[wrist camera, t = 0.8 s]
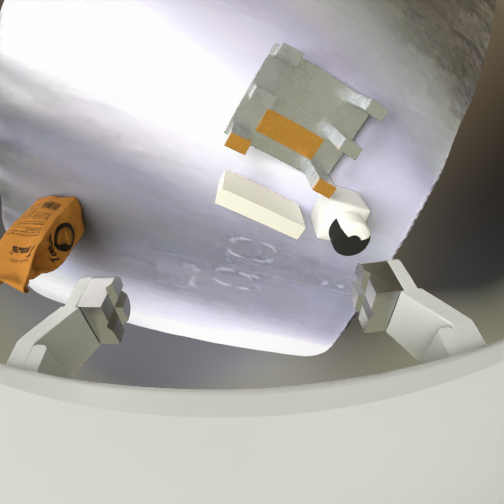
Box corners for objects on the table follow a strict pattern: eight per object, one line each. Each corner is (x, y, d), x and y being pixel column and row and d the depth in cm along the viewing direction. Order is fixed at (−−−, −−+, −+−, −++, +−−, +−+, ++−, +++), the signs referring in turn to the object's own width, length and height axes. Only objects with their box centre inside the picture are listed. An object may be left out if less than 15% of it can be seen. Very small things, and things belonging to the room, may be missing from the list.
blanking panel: (225, 168, 48) (222, 188, 41) (298, 203, 52) (305, 227, 45) (219, 180, 49) (214, 202, 43) (290, 214, 53) (297, 239, 47)
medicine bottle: (343, 224, 54) (363, 264, 45) (308, 216, 53) (322, 257, 44) (357, 191, 50) (382, 227, 41) (321, 181, 49) (340, 216, 40)
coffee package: (90, 236, 55) (42, 315, 37) (45, 233, 54) (-6, 304, 36) (81, 192, 49) (18, 266, 31) (34, 193, 48) (-29, 259, 30)
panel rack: (274, 43, 35) (280, 40, 29) (372, 104, 41) (392, 113, 35) (224, 130, 44) (220, 143, 38) (320, 180, 49) (331, 200, 43)
